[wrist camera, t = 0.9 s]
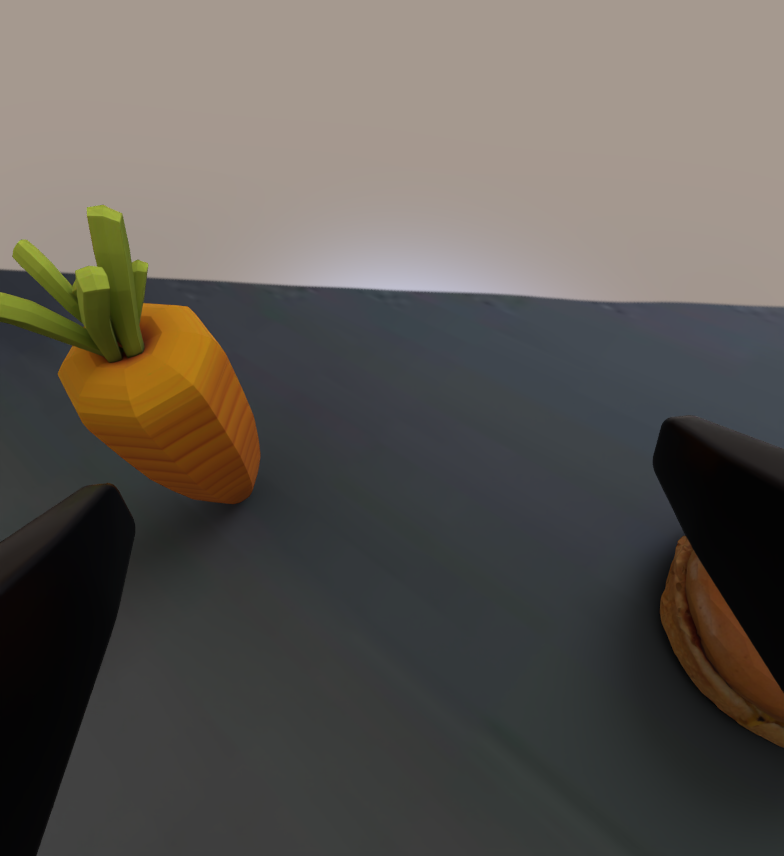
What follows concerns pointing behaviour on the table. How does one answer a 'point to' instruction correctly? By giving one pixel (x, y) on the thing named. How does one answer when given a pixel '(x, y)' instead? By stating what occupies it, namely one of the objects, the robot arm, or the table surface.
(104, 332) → the carrot
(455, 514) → the table surface
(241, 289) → the table surface
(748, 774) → the table surface
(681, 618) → the burger
